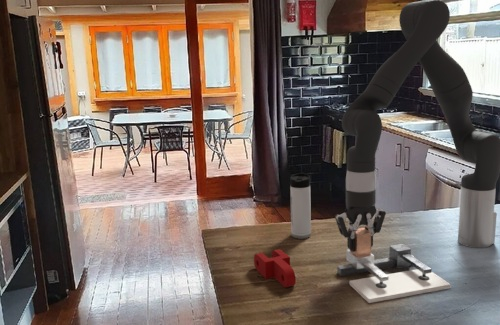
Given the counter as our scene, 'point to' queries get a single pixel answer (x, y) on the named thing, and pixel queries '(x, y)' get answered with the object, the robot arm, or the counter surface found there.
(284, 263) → the mechanical linkage
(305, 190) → the travel mug
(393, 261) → the gray bar frame
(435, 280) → the bolt plate
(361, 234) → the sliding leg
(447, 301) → the counter surface
